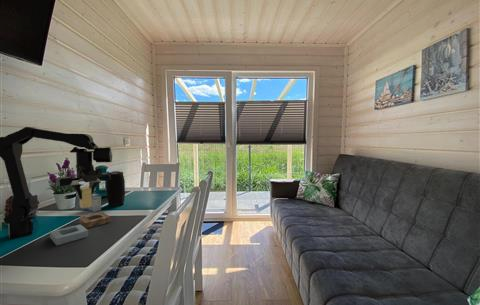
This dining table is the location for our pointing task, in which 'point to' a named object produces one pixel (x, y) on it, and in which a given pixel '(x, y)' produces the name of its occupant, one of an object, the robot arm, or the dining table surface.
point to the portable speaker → (116, 189)
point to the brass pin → (86, 197)
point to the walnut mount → (94, 220)
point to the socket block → (68, 234)
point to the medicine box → (95, 203)
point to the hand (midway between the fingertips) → (85, 198)
